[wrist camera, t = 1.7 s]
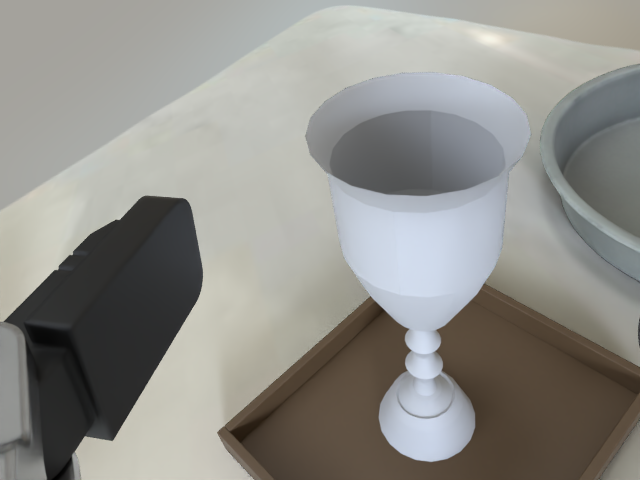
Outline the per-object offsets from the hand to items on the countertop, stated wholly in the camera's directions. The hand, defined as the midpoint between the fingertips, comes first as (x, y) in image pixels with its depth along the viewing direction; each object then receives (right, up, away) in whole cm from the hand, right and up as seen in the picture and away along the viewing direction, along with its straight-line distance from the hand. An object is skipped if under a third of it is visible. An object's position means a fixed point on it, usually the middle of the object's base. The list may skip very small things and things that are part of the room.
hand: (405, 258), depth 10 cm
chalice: (+4, -9, +20) cm, 23 cm away
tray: (+5, -9, +20) cm, 23 cm away
